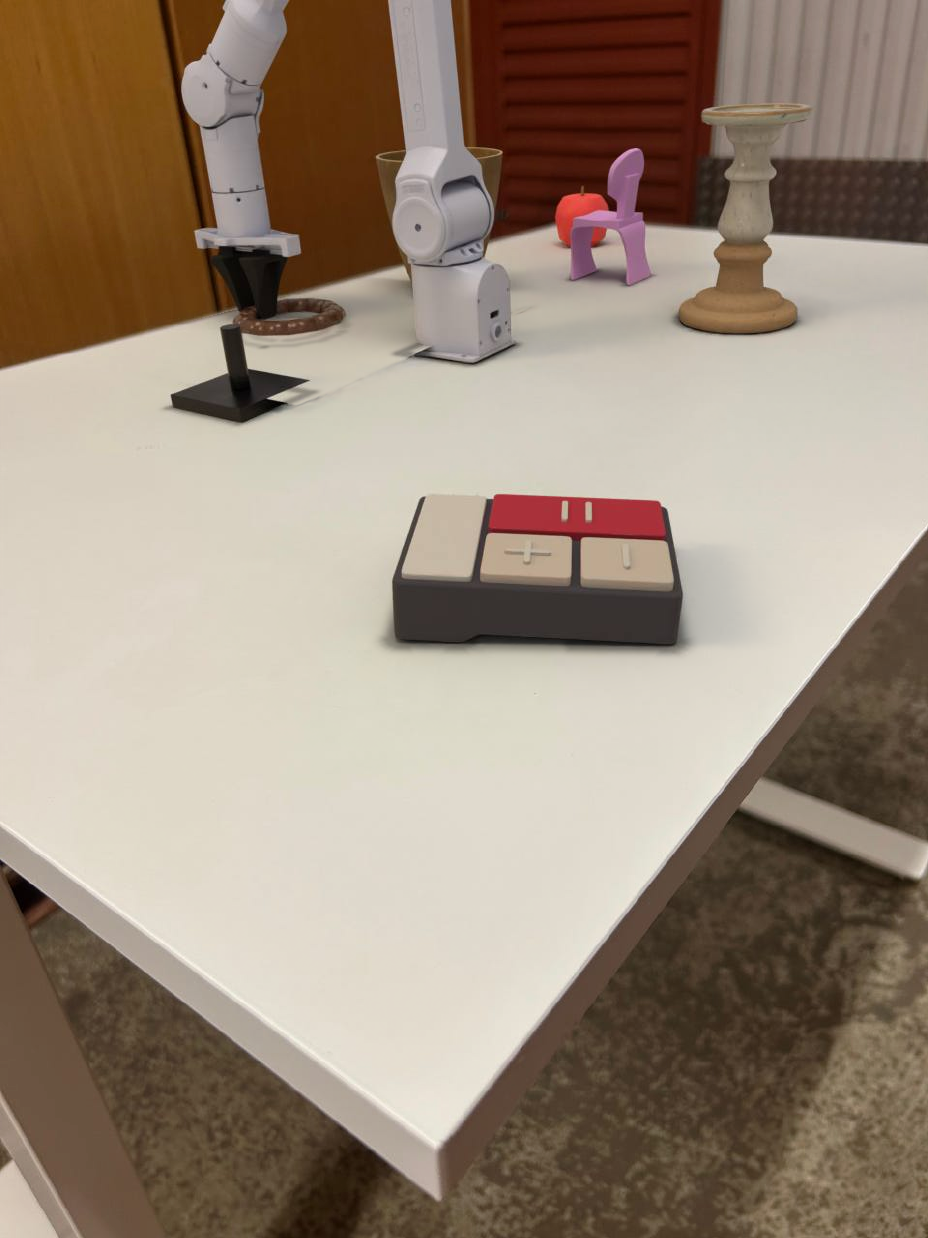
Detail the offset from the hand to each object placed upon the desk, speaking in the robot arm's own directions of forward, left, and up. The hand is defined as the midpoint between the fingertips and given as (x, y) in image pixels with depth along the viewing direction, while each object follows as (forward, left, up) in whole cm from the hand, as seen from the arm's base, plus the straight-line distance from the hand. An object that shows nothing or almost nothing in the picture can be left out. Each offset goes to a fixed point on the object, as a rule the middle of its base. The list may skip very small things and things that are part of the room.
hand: (258, 317), depth 111 cm
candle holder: (-48, -24, -1) cm, 54 cm away
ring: (-5, 0, 0) cm, 5 cm away
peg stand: (-18, +20, -1) cm, 27 cm away
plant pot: (-11, -22, -1) cm, 25 cm away
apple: (-12, -55, -1) cm, 56 cm away
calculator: (-60, +37, -1) cm, 71 cm away
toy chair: (-26, -37, -1) cm, 45 cm away
